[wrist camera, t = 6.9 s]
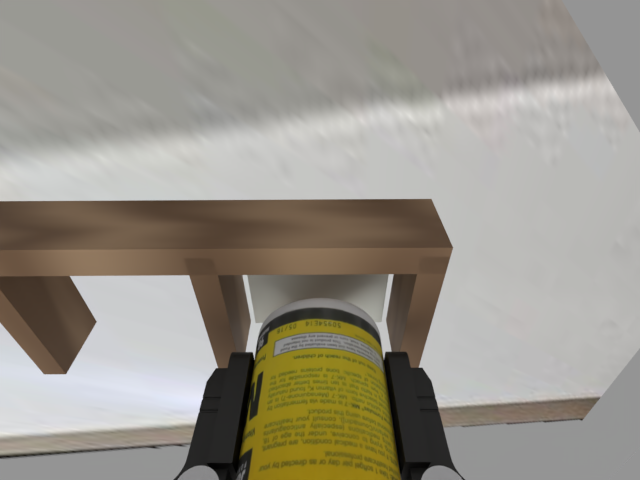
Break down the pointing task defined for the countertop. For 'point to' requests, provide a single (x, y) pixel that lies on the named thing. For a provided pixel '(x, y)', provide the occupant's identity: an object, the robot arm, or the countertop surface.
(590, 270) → the countertop surface
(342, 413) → the supplement bottle
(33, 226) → the wooden slotted rack
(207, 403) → the robot arm
